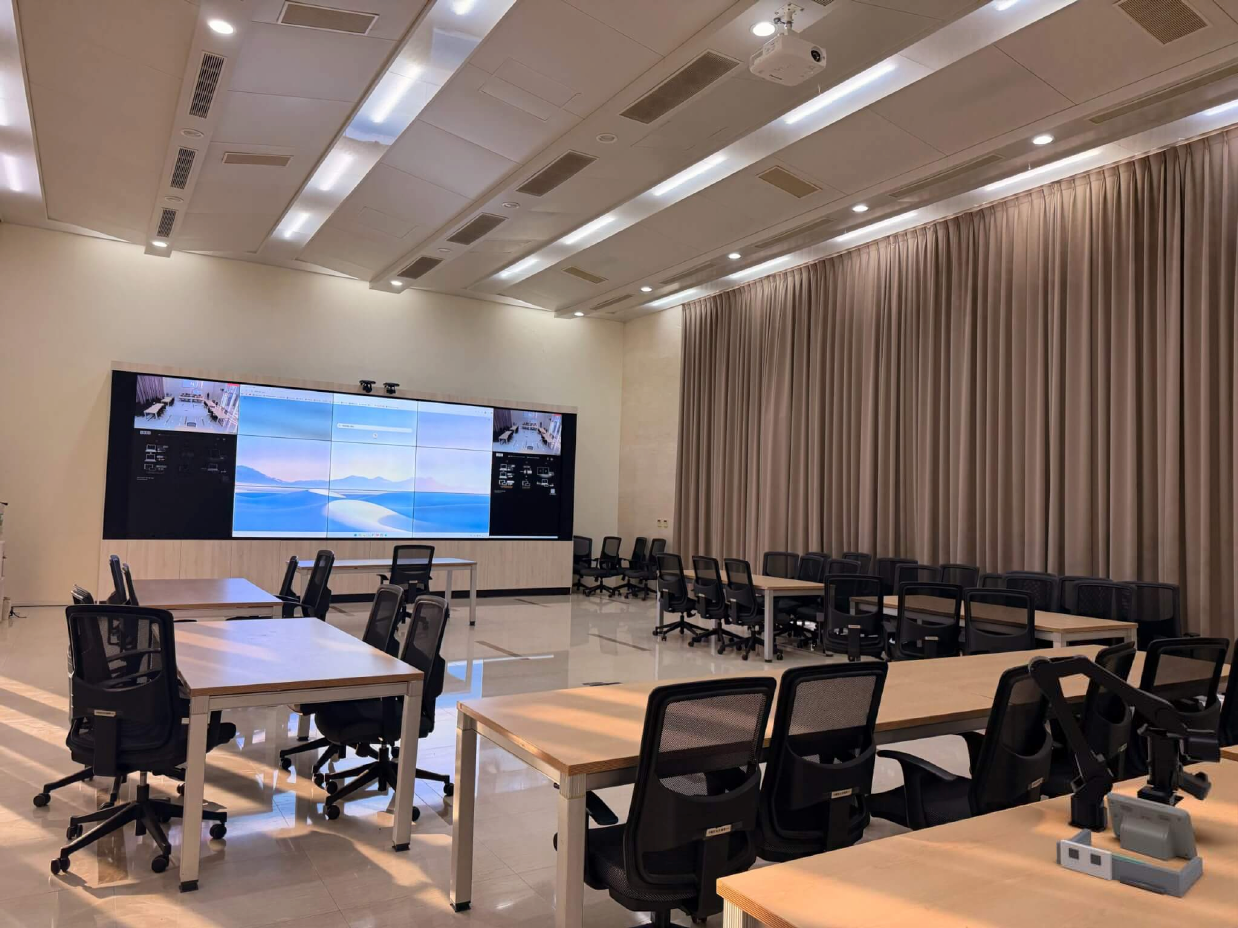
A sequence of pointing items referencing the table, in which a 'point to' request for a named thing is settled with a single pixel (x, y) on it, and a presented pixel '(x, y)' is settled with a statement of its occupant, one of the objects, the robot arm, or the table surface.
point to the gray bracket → (1125, 867)
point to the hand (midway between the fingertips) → (1166, 828)
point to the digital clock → (1151, 827)
